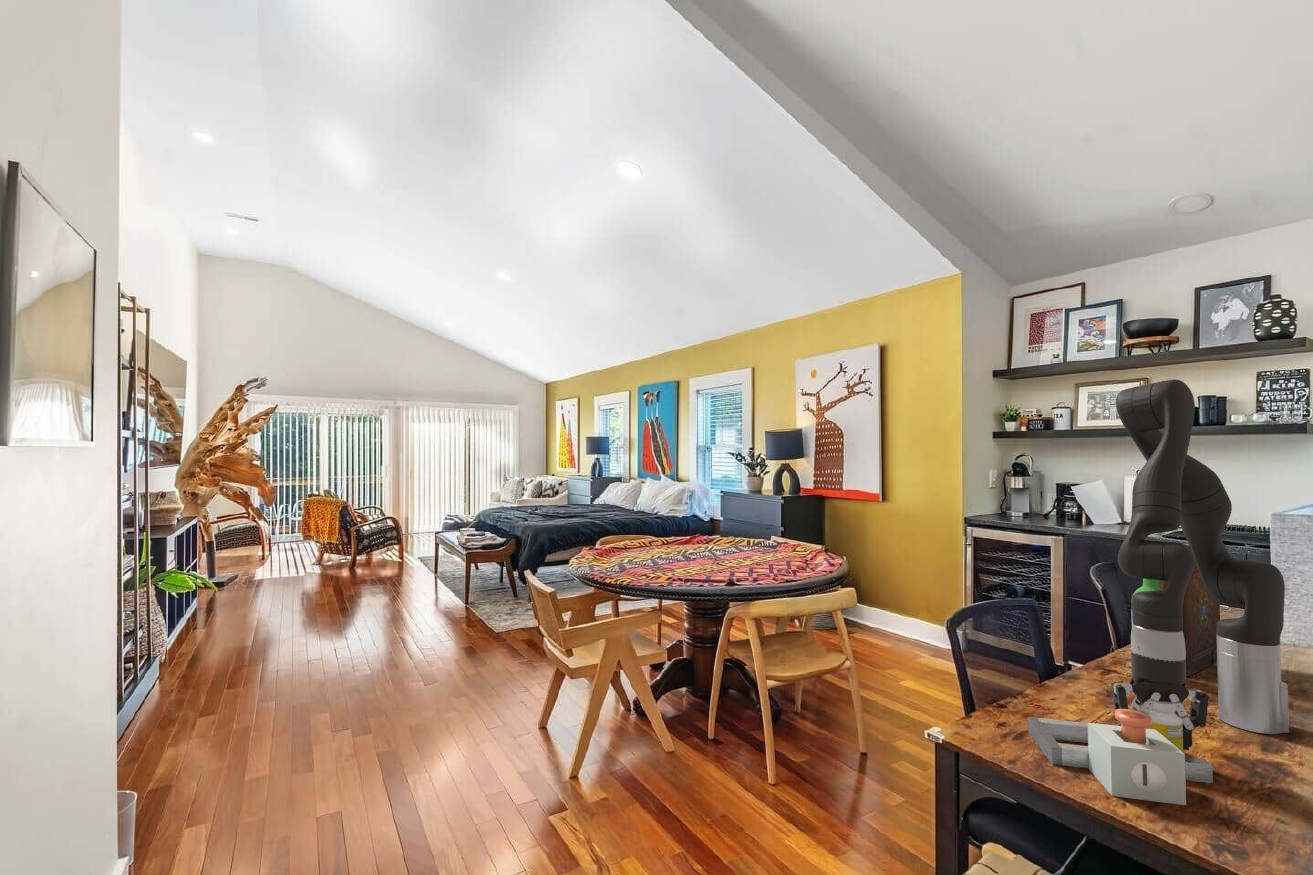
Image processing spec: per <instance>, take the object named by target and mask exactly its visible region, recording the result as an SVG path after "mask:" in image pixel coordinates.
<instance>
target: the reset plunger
mask: <svg viewBox="0 0 1313 875" xmlns="http://www.w3.org/2000/svg"><path fill="white" fill-rule="evenodd" d="M1114 718H1115V720H1116V721H1118V722H1120V726H1121V737H1122V738H1123V739H1124V740H1126V741H1129V742H1132V743H1138V744H1145V743H1146V728H1149V727H1151V726H1152V718H1151V717H1150V716H1148V715H1147V714H1144V713H1142V712H1139V711H1135V710H1130V708H1128V709H1116V710H1115V709H1114Z"/></svg>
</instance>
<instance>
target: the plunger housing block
mask: <svg viewBox="0 0 1313 875" xmlns="http://www.w3.org/2000/svg"><path fill="white" fill-rule="evenodd" d="M1087 723H1088V743H1087V744H1088V745H1087V746H1088V759H1089V769H1088V770H1089V771H1090V772H1091V773H1092V775H1094V777H1095V778H1096V779H1097V780H1098V782H1099V783H1100V785H1102V786H1103V788H1104V789H1105V790H1106V791H1107V792H1108V793H1109V794H1110V796H1111V797H1118V798H1126V799H1134V800H1142V801H1148V802H1156V803H1162V804H1163V803H1164V804H1172V805H1180V806H1187V790H1186V787H1187V786H1186V785H1187V784H1186V781H1187V780H1185V757H1186V755H1185V752H1184V751H1183V752H1182V751H1181V750H1179V749H1178V748H1177V747H1176V746H1175V745H1173V744H1172V743H1171V742H1170V741H1169V740H1167V739H1166V738H1165V737H1164V736H1162V735H1161V734H1160V733H1159V732H1158V731H1156V730H1154V729H1146V743H1145V744H1138V743H1132V742H1129V741H1126V740H1124V739H1123V738H1122V737H1121V725H1114V724H1105V723H1104V724H1103V723H1093V722H1087Z"/></svg>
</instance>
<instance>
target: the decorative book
mask: <svg viewBox="0 0 1313 875" xmlns="http://www.w3.org/2000/svg"><path fill="white" fill-rule="evenodd" d="M1183 544H1184V543H1183ZM1184 545H1186V546H1187V547H1188V548H1189V549H1190V550H1191V548H1190V546H1189V543H1185V544H1184ZM1191 551H1192V550H1191ZM1168 584H1169V582H1168V581H1161V580H1159V587H1160V589H1161V590H1163V589H1165V588H1166V587H1167V586H1168ZM1219 620H1221V601H1220V599H1218V598H1216V597H1214V596H1213V595H1212V594H1211V593H1210V592H1209V591H1208V590H1207V588H1206V587H1205V585H1204V583H1203V580H1202V578H1201V575H1200V572H1199V570H1198V567H1197V564H1196V561H1195V566H1194V570H1193V573H1192V575H1191V578H1190V580H1189V583H1188V586H1187V588H1186V592H1185V595H1184V600H1183V635H1184V639H1185V649H1186V677H1188V676H1189V677H1190V676H1193V675H1194V674H1197V673H1198V672H1200V671H1203V670H1204V669H1206V668H1208V667H1209V666H1211V667H1215V666H1217V638H1216V624H1217V622H1218V621H1219Z"/></svg>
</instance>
